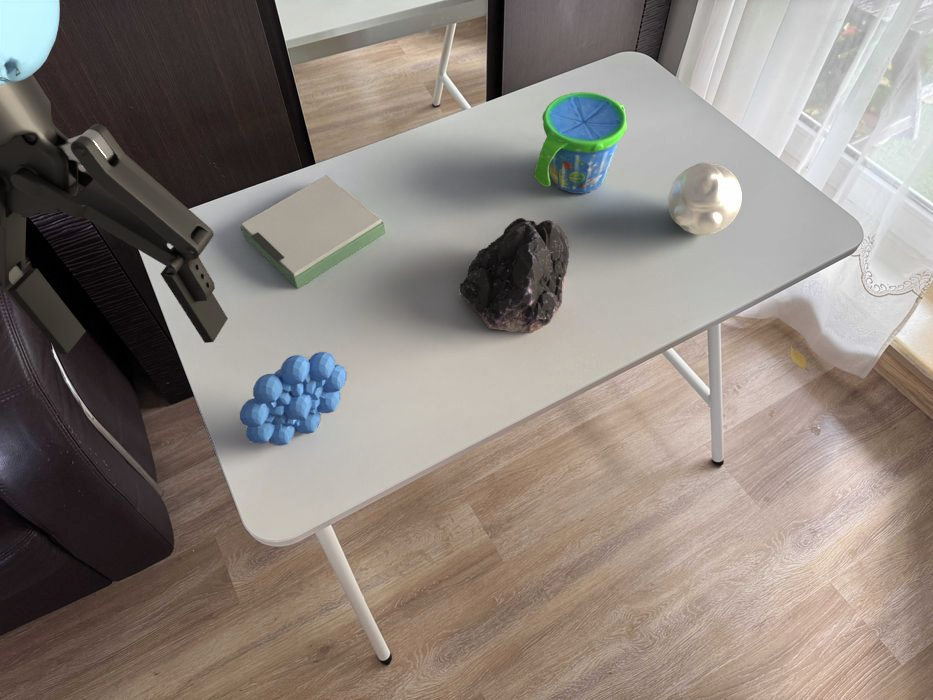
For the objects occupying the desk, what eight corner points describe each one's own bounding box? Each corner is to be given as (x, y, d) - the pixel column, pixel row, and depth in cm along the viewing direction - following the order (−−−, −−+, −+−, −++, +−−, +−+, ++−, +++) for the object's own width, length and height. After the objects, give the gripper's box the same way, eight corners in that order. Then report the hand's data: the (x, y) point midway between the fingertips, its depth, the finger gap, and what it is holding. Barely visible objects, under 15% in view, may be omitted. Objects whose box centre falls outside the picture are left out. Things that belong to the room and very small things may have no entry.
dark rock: (470, 348, 83) (477, 299, 75) (448, 259, 90) (452, 204, 82) (578, 334, 86) (597, 284, 77) (550, 247, 92) (564, 192, 84)
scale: (297, 289, 89) (292, 275, 87) (243, 236, 94) (237, 222, 92) (385, 233, 94) (383, 218, 92) (329, 186, 100) (326, 172, 98)
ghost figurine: (644, 217, 94) (658, 156, 86) (701, 193, 97) (721, 132, 89) (686, 261, 90) (706, 201, 82) (746, 235, 92) (770, 174, 84)
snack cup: (560, 223, 94) (566, 162, 86) (509, 182, 99) (511, 120, 91) (644, 174, 99) (658, 111, 91) (592, 136, 104) (601, 74, 96)
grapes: (338, 376, 81) (317, 309, 71) (365, 420, 77) (347, 356, 68) (241, 425, 77) (206, 362, 68) (265, 472, 74) (231, 413, 64)
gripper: (158, 11, 42) (299, 293, 55) (-147, 83, 49) (45, 317, 62) (89, 62, 36) (263, 360, 50) (-242, 134, 43) (-10, 378, 57)
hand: (142, 337), depth 56 cm, fingers open, 13 cm apart
